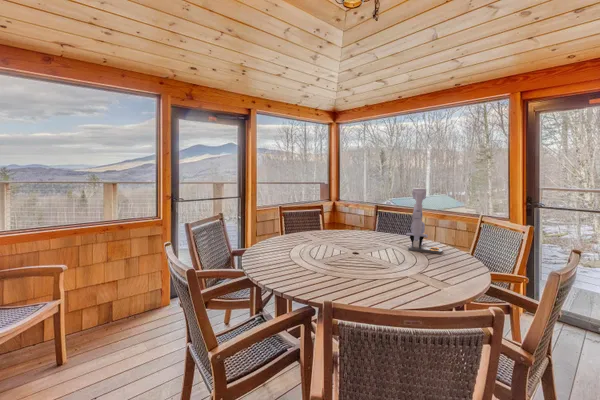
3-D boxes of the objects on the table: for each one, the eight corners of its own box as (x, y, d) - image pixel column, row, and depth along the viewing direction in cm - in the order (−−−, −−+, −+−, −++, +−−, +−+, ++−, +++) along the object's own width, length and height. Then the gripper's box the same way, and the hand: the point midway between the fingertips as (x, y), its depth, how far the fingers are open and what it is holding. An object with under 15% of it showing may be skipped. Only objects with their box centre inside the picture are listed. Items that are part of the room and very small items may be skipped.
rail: (410, 247, 226) (410, 244, 226) (442, 251, 215) (442, 248, 215) (408, 250, 219) (408, 247, 219) (441, 254, 208) (441, 251, 208)
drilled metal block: (413, 248, 223) (414, 239, 222) (419, 249, 221) (420, 240, 220) (413, 250, 219) (413, 240, 219) (418, 250, 217) (419, 241, 217)
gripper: (405, 227, 219) (405, 246, 220) (427, 229, 211) (426, 248, 213) (407, 226, 225) (406, 244, 226) (428, 228, 217) (427, 246, 219)
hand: (416, 246), depth 220 cm, fingers closed on drilled metal block, 4 cm apart
